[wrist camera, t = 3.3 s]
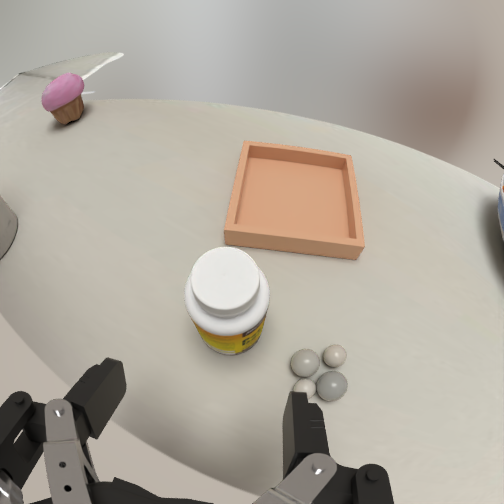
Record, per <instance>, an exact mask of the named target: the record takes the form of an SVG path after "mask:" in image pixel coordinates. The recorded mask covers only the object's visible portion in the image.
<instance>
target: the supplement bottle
mask: <svg viewBox="0 0 504 504" xmlns="http://www.w3.org/2000/svg"><path fill="white" fill-rule="evenodd" d="M269 300H270V289H269V284H268V281H267V279H266V277H265V275H264V273H263V272H262V271H261V269H260V268H259V267H258V266H257V265H256V263H255V261H254V260H253V259H252V258H251V257H250V256H249V255H248V254H247V253H245V252H244V251H242V250H240V249H237V248H233V247H219V248H215V249H212V250H210V251H208V252H206V253H204V254H203V255H202V256H201V257H200V258H199V259H198V260H197V261H196V263H195V264H194V266H193V268H192V271H191V274H190V275H189V277H188V279H187V281H186V284H185V288H184V301H185V305H186V308H187V311H188V313H189V315H190V317H191V319H192V321H193V322H194V324H195V326H196V328H197V330H198V332H199V333H200V335H201V337H202V339H203V340H204V342H205V343H206V344H207V345H208V346H209V347H210V348H211V349H213V350H215V351H216V352H219V353H222V354H227V355H234V354H239V353H243V352H245V351H247V350H248V349H250V348H251V347H252V346H253V345H254V344H255V343H256V342H257V340H258V339H259V337H260V335H261V332H262V328H263V325H264V321H265V317H266V313H267V310H268V306H269Z"/></svg>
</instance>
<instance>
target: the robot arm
mask: <svg viewBox="0 0 504 504" xmlns="http://www.w3.org/2000/svg"><path fill="white" fill-rule="evenodd" d="M17 224H18V223H17V217H16V215H15V214H14V213H13V211H12V210H11V209H10V208H9V206H8V205H7V204H6V202H5V201H4V200H3V198H2V197H1V196H0V258H1V257H2V256H3V255H4V254H5V253H6V251H7V250H8V248H9V247H10V245H11V243H12V241H13V239H14V236H15V234H16V230H17ZM125 392H126V380H125V374H124V369H123V364H122V362H121V361H118V360H115V359H111V358H106V359H105V360H104V361H103V362H102V363H101V364H100V365H98V364H96V365H94V366H93V367H91V368H89V369H88V370H87V371H86V372H85V373H84V375H83V376H82V377H81V378H80V379H79V381H78V382H77V383H76V384H75V385H74V386H73V387H72V389H71V390H70V391H69V392H68V393H67V395H66V396H65V397H64V398H63V399H54V400H51V401H50V402H48V403H47V404H43V403H38V402H33V401H32V398H31V396H30V395H29V394H28V393H26V392H23V391H18V392H15V393H13V394H11V395H10V396H9V398H8V399H7V400H6V401H5V402H4V403H3V404H2V406H1V407H0V504H24V502H23V495H22V492H21V489H22V487H23V485H24V484H25V482H26V480H27V479H28V477H29V475H30V473H31V472H32V470H33V468H34V467H35V465H36V463H37V461H38V460H39V458H40V457H41V455H42V453H43V452H44V457H45V464H46V471H47V477H48V482H49V488H50V492H51V498H47V499H44V500H41V501H37V502H34V503H30V504H213V503H207V502H201V501H196V500H192V499H178V498H161V497H158V496H156V495H154V494H152V493H150V492H149V491H147V490H145V489H143V488H141V487H140V486H138V485H135V484H132V483H129V482H127V481H124V480H121V479H118V478H116V477H114V480H113V482H100V481H99V479H98V477H97V475H96V472H95V469H94V465H93V462H92V458H91V455H90V451H89V447H88V443H87V439H88V437H89V436H90V437H92V438H95V439H98V437H99V436H100V434H101V432H102V431H103V429H104V427H105V426H106V424H107V422H108V421H109V419H110V418H111V416H112V414H113V413H114V411H115V410H116V408H117V406H118V405H119V403H120V401H121V400H122V398H123V397H124V395H125ZM21 430H23V432H22V433H21V435H20V436H19V437H18V439H17V440H16V442H15V443H14V440H15V438H16V437H17V435H18V434H19V433H20V431H21ZM252 504H394V501H393V496H392V491H391V486H390V482H389V477H388V473H387V471H386V470H385V469H384V468H383V467H381V466H379V465H376V464H366V465H364V466H362V467H360V468H359V469H354V468H349V467H344V466H341V465H339V464H337V463H336V462H335V460H334V459H333V458H332V457H331V456H330V453H329V448H328V442H327V436H326V430H325V424H324V418H323V412H322V410H321V409H320V407H319V406H318V405H317V403H308V398H307V393H306V392H293V391H290V393H289V396H288V400H287V404H286V408H285V411H284V416H283V481H282V482H281V483H280V484H279V485H277V486H276V487H275V488H271V489H269V490H268V491H267V492H265V493H264V494H263V495H262V496H261V497H260V498H258V499H257V500H256V501H255V502H254V503H252Z"/></svg>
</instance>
